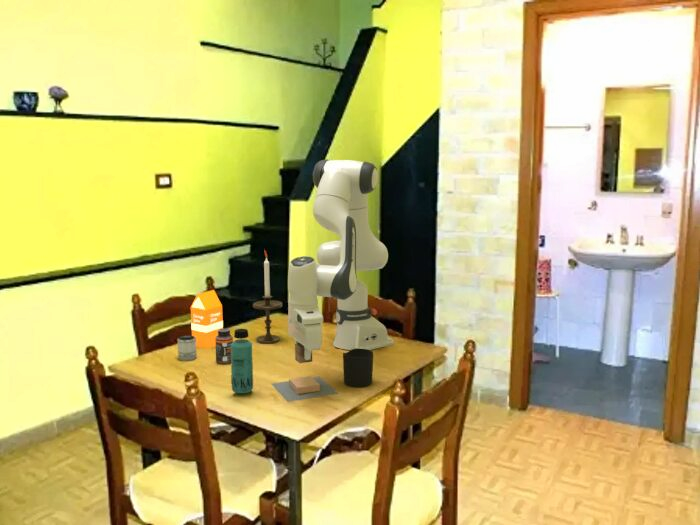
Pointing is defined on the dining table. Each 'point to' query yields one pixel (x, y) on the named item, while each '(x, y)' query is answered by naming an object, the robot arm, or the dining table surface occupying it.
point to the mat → (293, 396)
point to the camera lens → (187, 348)
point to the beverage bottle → (241, 363)
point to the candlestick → (267, 308)
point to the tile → (304, 385)
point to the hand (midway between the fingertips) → (303, 356)
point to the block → (300, 353)
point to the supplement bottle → (223, 346)
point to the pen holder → (358, 367)
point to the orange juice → (206, 318)
